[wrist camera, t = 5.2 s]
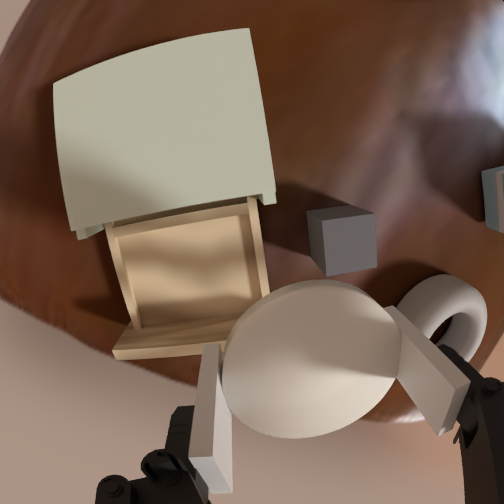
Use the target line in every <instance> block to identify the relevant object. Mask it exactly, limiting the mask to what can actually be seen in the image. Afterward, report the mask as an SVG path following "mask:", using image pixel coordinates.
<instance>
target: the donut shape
mask: <svg viewBox="0 0 504 504" xmlns="http://www.w3.org/2000/svg"><path fill="white" fill-rule="evenodd" d="M396 309H397V310H398V311H399V312H401V313H402V314H403V315H404V316H405V317H406V318H407V319H408V320H409V321H410V322H411V323H412V324H413V325H414V326H415V327H417V328H418V329H419V330H420V331H421V332H422V333H423V334H424V335H425V336H426V337H427V338H428V339H430V337H431V336H432V334H433V333H434V331H435V330H436V329H437V328H438V327H439V326H440V325H441V324H442V323H443V322H444V321H445V320H446V319H447V318H449V317H450V316H452V315H453V316H452V320H451V323H450V325H449V327H448V329H447V331H446V333H445V334H444V335H443V337H442V338H441V339H440V340H439V341H438V342H437V343H436V344H435V346H436V347H437V346H439V345H442V344H445V345H447V346H449V347H451V348H453V349H454V350H455V351H456V352H457V353H458V354H459V356H462V357H463V358H464V360H465V361H467V362H469V361H470V359H471V358H472V357H473V355H474V354H475V352H476V350H477V349H478V347H479V345H480V343H481V340H482V338H483V335H484V332H485V328H486V323H487V309H486V304H485V301H484V299H483V297H482V295H481V294H480V293H479V291H478V290H476V289H475V288H474V287H472V286H470V285H469V284H467V283H465V282H464V281H462V280H460V279H459V278H457V277H455V276H452V275H446V274H442V275H436V276H432V277H430V278H427V279H425V280H423V281H422V282H420V283H419V284H417V285H416V286H415V287H413V288H412V289H411V290H410V291H409V292H408V293H407V294H406V295H405V296H404V297H403V299H402V300H401V301H400V302H399V304H398V305H397V307H396Z"/></svg>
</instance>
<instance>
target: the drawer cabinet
mask: <svg viewBox="0 0 504 504" xmlns="http://www.w3.org/2000/svg"><path fill="white" fill-rule="evenodd" d="M53 101H54V121H55V134H56V145H57V154H58V162H59V169H60V176H61V182H62V188H63V194H64V199H65V205H66V210H67V215H68V219H69V224H70V228H71V231H74V230H76V233H77V238H78V240H80V239H85V238H88V237H90V236H92V235H94V234H96V233H98V232H99V231H101V230H103V229H105V226H104V223H108V222H112V221H117V220H121V219H126V218H130V217H135V216H140V215H144V214H149V213H154V212H159V211H164V210H169V209H174V208H180V207H185V206H190V205H196V204H202V203H207V202H213V201H219V200H225V199H231V198H237V197H243V196H250V195H256V199H260V200H261V202H262V203H263V204H264V205H268V204H275V203H276V195H275V192H276V187H275V180H274V173H273V166H272V160H271V153H270V146H269V140H268V134H267V127H266V121H265V115H264V109H263V103H262V97H261V91H260V85H259V80H258V74H257V68H256V63H255V57H254V52H253V47H252V41H251V36H250V31H249V28H244V29H235V30H227V31H220V32H214V33H208V34H202V35H197V36H192V37H187V38H182V39H178V40H173V41H169V42H165V43H161V44H157V45H154V46H150V47H147V48H143V49H140V50H136V51H133V52H130V53H127V54H124V55H121V56H118V57H115V58H112V59H109V60H107V61H104V62H101V63H99V64H96V65H94V66H91V67H89V68H86V69H84V70H82V71H79V72H77V73H75V74H72V75H70V76H68V77H66V78H64V79H61V80H59V81H57V82H55V83H53Z"/></svg>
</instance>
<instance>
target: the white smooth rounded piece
mask: <svg viewBox="0 0 504 504" xmlns="http://www.w3.org/2000/svg"><path fill="white" fill-rule="evenodd" d="M401 343H402V339H401V335H400V332H399V329H398V327H397V325H396V323H395V322H394V320H393V319H392V318H391V316H390V315H389V314H388V313H387V312H386V311H385V310H384V309H383V308H382V307H381V306H380V305H379V304H378V303H377V302H376V301H375V300H374V299H373V298H372V297H371V296H369V295H368V294H367V293H366V292H364V291H363V290H361V289H359V288H358V287H355V286H353V285H351V284H348V283H344V282H340V281H334V280H309V281H302V282H298V283H294V284H290V285H288V286H285V287H282V288H280V289H277V290H275V291H273V292H272V293H270V294H268V295H266V296H264V297H263V298H261V299H260V300H259V301H257V302H256V303H254V304H253V305H252V306H251V307H250V308H249V309H248V310H246V311H245V313H244V314H243V315H242V316H241V317H240V318H239V319H238V321H237V322H236V324H235V325H234V327H233V328H232V330H231V332H230V334H229V336H228V338H227V341H226V344H225V348H224V354H223V370H222V389H223V394H224V397H225V400H226V402H227V405H228V407H229V408H230V410H231V411H232V413H233V414H234V415H235V416H236V417H237V418H238V419H239V420H240V421H241V422H243V423H244V424H245V425H247V426H248V427H250V428H252V429H254V430H256V431H258V432H261V433H263V434H267V435H270V436H275V437H281V438H305V437H306V438H307V437H314V436H318V435H323V434H326V433H329V432H332V431H335V430H338V429H340V428H342V427H344V426H347V425H349V424H351V423H352V422H354V421H356V420H357V419H359V418H360V417H362V416H363V415H365V414H366V413H367V412H368V411H370V410H371V409H372V408H373V407H374V406H375V405H376V404H377V403H378V402H379V401H380V400H381V399H382V398H383V397H384V395H385V394H386V393H387V391H388V390H389V388H390V387H391V385H392V384H393V382H394V380H395V378H396V376H397V373H398V368H399V360H400V352H401Z"/></svg>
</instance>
